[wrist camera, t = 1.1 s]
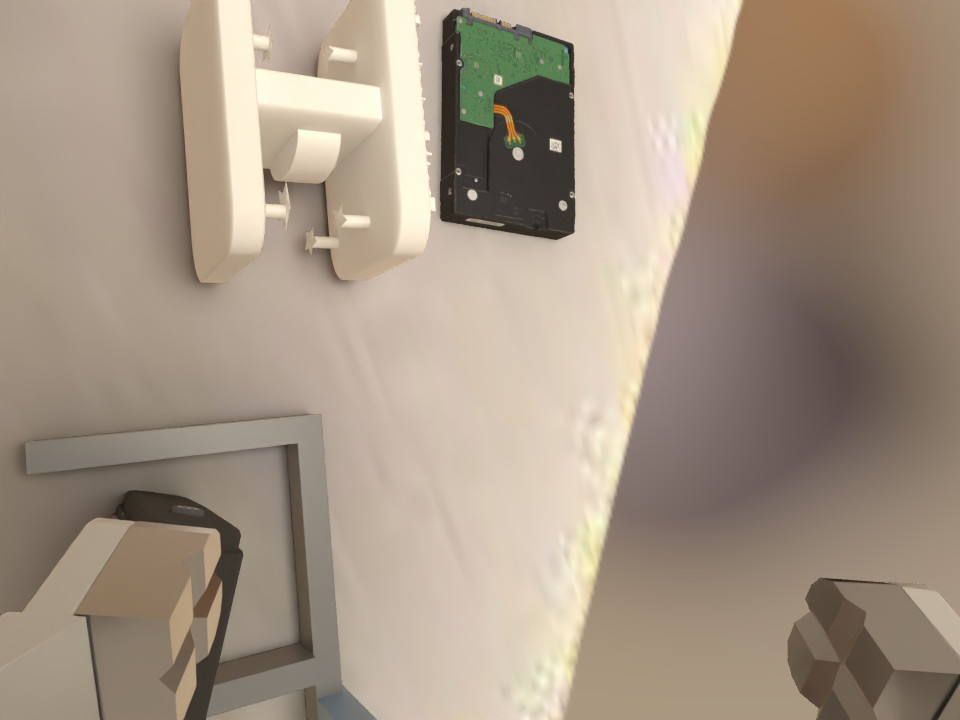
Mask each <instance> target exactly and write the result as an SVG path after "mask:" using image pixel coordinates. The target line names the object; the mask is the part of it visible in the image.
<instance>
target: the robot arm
mask: <svg viewBox="0 0 960 720" xmlns="http://www.w3.org/2000/svg"><path fill="white" fill-rule="evenodd" d="M220 555H221V544H220V533H219V532H218V531H217V530H216V529H211V528H201V527H192V526H182V525H172V524H163V523H153V522H143V521H137V522H134V521H127V520H117V519H107V518H96V519H94V520H92V521H90V522H88V523H87V524H86V525H85V526H84V528H83V529H82V531H81V532H80V533H79V535H78V536H77V537H76V539H75V540H74V541H73V543H72V544H71V546H70V547H69V548H68V550H67V551H66V552H65V554H64V555H63V556H62V558H61V559H60V560H59V562H58V563H57V565H56V566H55V567H54V569H53V570H52V571H51V573H50V574H49V575H48V577H47V578H46V580H45V581H44V582H43V584H42V585H41V586H40V588H39V589H38V590H37V592H36V593H35V595H34V596H33V597H32V599H31V600H30V601H29V603H28V604H27V605H26V607H25V608H24V609H23V611H22V612H9V611H8V612H6V613H4V614H3V615H1V616H0V720H183V719H184V716H185V714H186V711H187V709H188V706H189V704H190V701H191V698H192V696H193V693H194V691H195V688H196V686H197V684H196V664H197V663H199V662H200V661H201V660H203V659H204V658H205V657H207V656H208V654H209V652H210V649H211V646H212V643H213V641H214V638H215V635H216V630H217V626H218V622H219V617H220V613H221V602H222V580H221V579H220V578H219V577H218V575H217V574H216V573H215V572H214V570H215V567H216V565H217V562H218V560H219V558H220ZM805 600H806V602H807V605H808V607H809V609H810V612H809V613H807V614H806V615H805V616H803V617H802V618H800V619H799V620H798V621H796V622H795V623H794V626H793V628H792V631H791V634H790V636H789V639H788V664H789V667H790V671H791V675H792V678H793V680H794V682H795V684H796V686H797V688H798V690H799V692H800V693H801V694H802V695H803V696H804V697H805V698H807V699H808V700H809V701H810V702H812V703H813V704H814V705H815V706H816V707H818V708H819V710H818V714H817V719H816V720H960V618H959V616H958V615H957V614H956V613H955V612H954V611H953V609H952V608H951V607H950V606H949V605H948V604H947V603H946V601H945V600H944V599H943V598H942V597H941V596H940V595H939V593H938V592H937V591H936V590H934V589H932V588H930V587H929V586H927V585H925V584H916V583H898V582H888V583H885V582H873V581H860V580H846V579H832V578H819V579H818V580H817V581H816V582H814V583H813V584H812V585H811V588H810V589H809V592H808V594H807V596H806V598H805Z"/></svg>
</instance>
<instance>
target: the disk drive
mask: <svg viewBox="0 0 960 720" xmlns="http://www.w3.org/2000/svg"><path fill="white" fill-rule="evenodd" d="M573 64H574V46H573V44H572V43H569V42H566V41H563V40H560V39H557V38H554V37H552V36H549V35H546V34H542V33H540V32H536V31H532V30H531V29H530V28H528V27H524V26H521V25H518V24H517V25H516V27H511V24H508V23H505V22H502V21H501V20H500V21H499V23H498V22H497V19H493V18H490V17H487V16H483V15H481V14H478V13H475V12H471V14H470V9H469V8H462V9H461V10H460V11H459V10H456V9H454V10H452V11H451V12H450V13H449V15H448V16H447V17H446V18H445V19H444V21H443V45H442V129H441V130H442V132H441V136H442V138H441V141H442V146H441V149H442V150H441V182H440V202H441V207H440V208H441V210H440V211H441V215H440V218H441V220H442V221H446V222H452V223H458V224H464V225H469V226H475V227H482V228H487V229H493V230H500V231H505V232H511V233H518V234H523V235H529V236H535V237H544V238H549V239H555V240H557V239H560V238H563V237H566V236H568V235H571V234H573V233H574V232H575V230H574V224H575V198H574V195H575V178H574V175H575V173H574V171H575V168H574V162H575V161H574V156H575V154H574V125H575V124H574V78H575V75H574V73H575V71H574V65H573Z"/></svg>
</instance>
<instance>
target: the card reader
mask: <svg viewBox="0 0 960 720" xmlns="http://www.w3.org/2000/svg"><path fill="white" fill-rule="evenodd" d="M110 519H117V520H127V521H134V522H137V521H143V522H153V523H163V524H172V525H182V526H192V527H201V528H211V529H216V530H217V531H218V532H219V533H220V544H221V555H220V558H219V560H218V562H217V565H216V567H215V570H214V572H215V573H216V574H217V575H218V577H219V578H220V579H221V580H222V602H221V613H220V617H219V622H218V626H217V630H216V635H215V638H214V641H213V643H212V646H211V649H210V652H209V654H208V656H207V657H205V658H204V659H203V660H201V661H200V662H199V663H197V664H196V684H197V686H196V688H195V691H194V693H193V696H192V698H191V701H190V704H189V706H188V709H187V711H186V714H185V716H184V719H183V720H206V716H207V712H208V707H209V703H210V698H211V694H212V690H213V685H214V681H215V676H216V672H217V668H218V663H219V659H220V655H221V650H222V646H223V641H224V637H225V633H226V628H227V624H228V619H229V615H230V611H231V606H232V602H233V597H234V593H235V589H236V584H237V580H238V575H239V571H240V567H241V562H242V558H243V552H242V550H241V549H239V548H238V547H239V542H240V538H241V534H240V531H239V530H238V529H237V528H236V527H234V526H233V525H231V524H230V523H228V522H227V521H225V520H224V519H222V518H221V517H219V516H218V515H216V514H215V513H213V512H212V511H210V510H209V509H207V508H206V507H204V506H202V505H200V504H198V503H196V502H194V501H192V500H190V499H188V498H185V497H180V496H175V495H168V494H161V493H154V492H146V491H129V492H128V493H127V494H126V495H125V498H124V502H123V504H121V505H119V506H118V507H117V510H116V514H111V516H110Z"/></svg>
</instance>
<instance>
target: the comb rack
mask: <svg viewBox="0 0 960 720" xmlns="http://www.w3.org/2000/svg"><path fill="white" fill-rule="evenodd" d="M279 445H287V458H288V472H289V486H290V499H291V513H292V526H293V540H294V553H295V567H296V581H297V594H298V608H299V621H300V635H301V643H297V644H293V645H290V646H286V647H282V648H278V649H274V650H270V651H267V652H263V653H259V654H255V655H251V656H247V657H244V658H240V659H236V660H232V661H228V662H225V663H221V664H218V668H217V672H216V676H215V681H214V685H213V690H212V694H211V698H210V703H209V707H208V712H207V716H206V718H207V717H210V716H213V715H217V714H220V713H224V712H227V711H230V710H234V709H237V708H240V707H244V706H247V705H251V704H254V703H257V702H261V701H264V700H268V699H271V698H274V697H278V696H281V695H284V694H288V693H291V692H295V691H298V690H301V689H305V703H306V716H307V720H376V718H375V717H374V716H373V715H372V714H371V713H370V712H369V711H368V710H367V709H366V708H365V707H364V706H363V705H362V704H361V703H360V702H359V701H358V700H357V699H356V698H355V697H354V696H353V695H352V694H351V693H350V692H349V691H348V690H347V689H346V688H345V687H344V686H343V685H342V681H341V667H340V654H339V641H338V628H337V614H336V601H335V588H334V575H333V561H332V548H331V535H330V522H329V508H328V495H327V482H326V469H325V455H324V442H323V429H322V415H321V414H305V415H295V416H284V417H274V418H263V419H253V420H242V421H232V422H222V423H211V424H201V425H190V426H180V427H169V428H159V429H148V430H138V431H127V432H117V433H107V434H96V435H86V436H75V437H65V438H54V439H44V440H33V441H27V442H26V443H25V453H26V469H27V475H29V474H38V473H46V472H55V471H64V470H72V469H81V468H89V467H98V466H107V465H115V464H124V463H132V462H141V461H150V460H158V459H167V458H175V457H184V456H193V455H201V454H210V453H219V452H227V451H236V450H244V449H253V448H262V447H270V446H279Z"/></svg>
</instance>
